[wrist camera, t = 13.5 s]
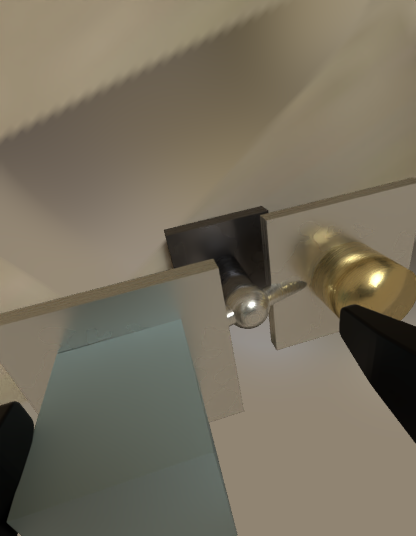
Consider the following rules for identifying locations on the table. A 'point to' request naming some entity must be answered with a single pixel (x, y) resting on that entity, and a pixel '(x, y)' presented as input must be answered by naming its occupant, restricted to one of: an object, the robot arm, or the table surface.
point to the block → (123, 445)
